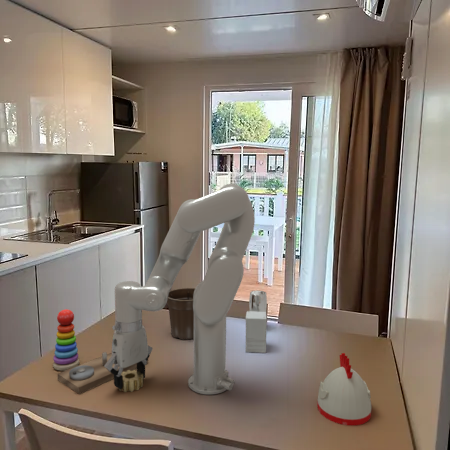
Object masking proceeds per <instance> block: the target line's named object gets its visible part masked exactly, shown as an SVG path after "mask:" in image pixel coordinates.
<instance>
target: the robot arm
mask: <svg viewBox="0 0 450 450" xmlns="http://www.w3.org/2000/svg"><path fill="white" fill-rule="evenodd" d="M255 220H256V218H255V211H254V207H253V204H252V202H251V200H250V197H249V195H248V193H247V191H246V190H245V189H244V188H243V187H241V186H240V185H238V184H236V183H228V184H224V185H223V186H222V187H220V189H218V190H217V191H214V192H212V193H209V194H206V195H204V196H201V197H198V198H196V199H195V198H194V199H193V198H192V199H187V200H185V201H184V202H182V203H181V205H180V206H179V208H178V210H177V213H176V215H175V216H174V219H173V221H172V222H171V226H170V227H169V230H168V231H167V234H166V236H165V238H164V240H163V242H162V244H161V247H160V250H159V255H158V257H157V260H156V262H155V264H154V266H153V268H152V270H151V273H150V275H149V277H148V279H147V281H146V282H145V285H143V286H142V285H141V284H140V283H139V282H137V281H133V280H125V281H122V282H119V283H117V284H115V288H114V305H115V306H114V312H115V315H114V316H115V321H114V325H112V326H111V327H112V330H113V336H112V342H111V343H112V344H111V353H112V356H111V358H110V359H109V360H108V361H107V363H106V364H105V366H104V367H105V368H106V369H107V370H108V371H109V372H111V373H112V374H114V379H113V384H114V387H116V388H117V389H118V390H119V389H122V388H123V376H122V375H121V373H122V371H123V368H126V367H129V366H131V365H133V364H136V363H137V368H136V372H138V371H140V372H141V373H143V379H145V378H146V365H148V363H147V360H148V361H149V359H150V355H151V353H152V351H153V349H154V348H153V346H150V345H148V337H147V331H146V328H145V326H144V325H143V311H147V312H159V311H161V310H162V309H163V308H165V306H166V305H167V299H168V295H169V292H170V291H171V289H172V287H173V285H174V283H175V280H176V279H177V276H178V274H179V273H180V272H181V269H182V267H183V266H184V265H185V264H186V263H187V262H188V261H189V258H190V257H191V255H192V253H193V251H194V249H195V246H196V244H197V242H198V240H199V239H200V236H201V234H202V232H203V231H206V230H210V229H212V228H215V227H217V226H219V225H221V224H223V226H222V229H221V232H220V234H219V237H218V239H217V242H216V243H215V246H214V248H213V251H212V252H211V254H210V257H209V258H208V262H207V271H206V273H205V275H204V277H203V280H202V281H200V282H199V283H198V284H197V285H196V287H195V290H194V294H193V311H194V338H193V373H192V375H190V377H188V380H187V384H188V387H189V389H191V390H192V391H193V392H195V393H198V394H200V395H209V396H210V395H217V394H221V393H225V392H226V391H227V390H228V391H232V390H233V387H234V384H235V381H236V380H235V379H233V378H231V377H230V376H229V371H228V370H226V365H227V364H226V361H227V360H226V356H227V353H226V351H227V346H226V345H227V315H228V312H229V311H230V309H231V307H232V304H233V303H234V299H235V297H236V295H237V293H238V290H239V288H240V286H241V284H242V281H243V278H244V277H243V276H244V272H245V270H244V268H245V267H244V264H243V263H244V262H243V259H244V256H245V253H246V251H247V249H248V246H249V244H250V241H251V237H252V235H253V233H254V228H255V223H256V221H255ZM113 364H115V365H114V367H112V365H113ZM118 367H119V369H118ZM117 369H118V371H117Z"/></svg>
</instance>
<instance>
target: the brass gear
mask: <svg viewBox="0 0 450 450" xmlns="http://www.w3.org/2000/svg"><path fill="white" fill-rule="evenodd" d="M121 375H122V376H123V388H122V389H119V388H118V390H119V391H120V392H122V391H123V393H127V392H130V393H132V392H134V391H139V390H140V388H142V387H143V386H144V378H143V373H141V372H140V371H138V372H137V369H134V370H132V371H130V370H127V372H124V371H123V372H122V373H121Z"/></svg>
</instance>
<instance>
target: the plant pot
mask: <svg viewBox="0 0 450 450" xmlns="http://www.w3.org/2000/svg"><path fill="white" fill-rule="evenodd" d="M195 288H196V287H195ZM195 288H194V287H181V288H180V287H179V288H175V289H172V290H170V292H169V295H168V299H167V303H166V305H167V307H168V312H169V324H170V334H171V336H172V337H173V338H175V339H177V338H179V339H180V340H192V339H193V340H194V311H193V294H194V290H195Z"/></svg>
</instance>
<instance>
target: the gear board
mask: <svg viewBox="0 0 450 450" xmlns="http://www.w3.org/2000/svg"><path fill="white" fill-rule="evenodd" d="M101 354H102V355H101V356H100V357H97V358H94V359H91V360H89V361H86V362H84V363H82V364H79V365H78V366H76V367H73V368H71V369H68V370H66V371H61V372H58V373H57V381H58V382H60V383H61V384H63V385H65V386H66V387H68V388H69V389H71V390H72V391H74V392H75V393H77V394H78V395H80V394H83V393H85V392H87V391H89V390H91V389H94V388H96V387H99V386H100V385H103V384H105V383H107V382H109V381H111V380H114V374H112V373H111V372H109V371H108V370H107V369H106V368H105V367H104V366H105V364H106V363H107V361H108V360H109V359H110V358H111V356H112V352H109V353H108V352H107V351H105V352H102V353H101ZM147 364H149V359H148V360H147ZM114 365H115V364H113V365H112V367H114ZM118 369H119V367H118ZM118 369H117V371H118ZM127 370H130V371H133V370H137V363H136V364H133V365H131V366H129V367H126V368H123V371H124V372H127ZM123 371H122V372H123Z"/></svg>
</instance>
